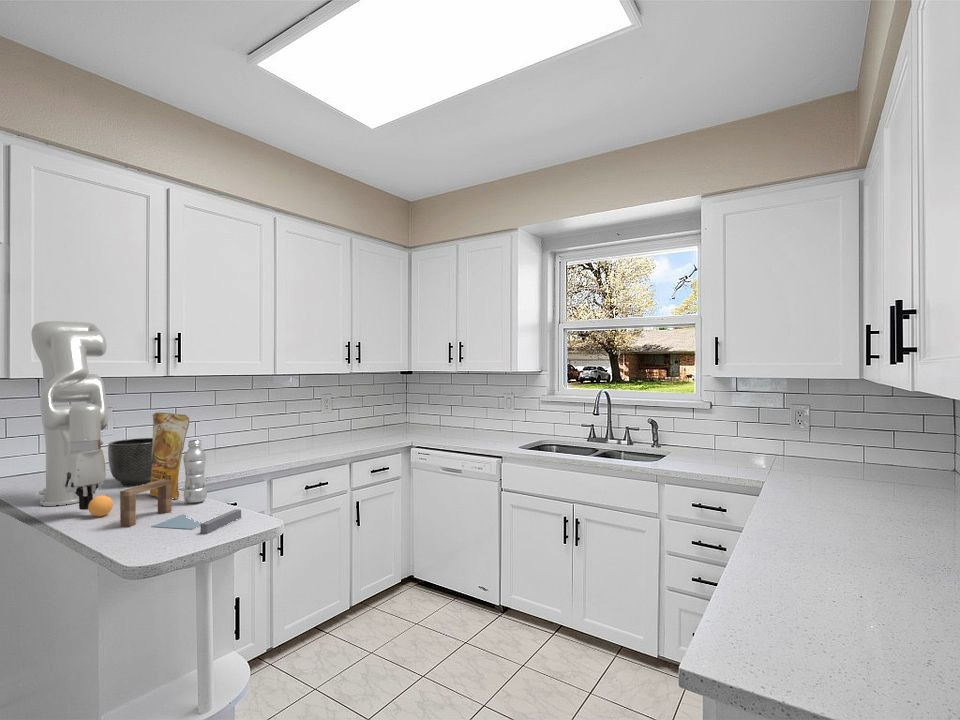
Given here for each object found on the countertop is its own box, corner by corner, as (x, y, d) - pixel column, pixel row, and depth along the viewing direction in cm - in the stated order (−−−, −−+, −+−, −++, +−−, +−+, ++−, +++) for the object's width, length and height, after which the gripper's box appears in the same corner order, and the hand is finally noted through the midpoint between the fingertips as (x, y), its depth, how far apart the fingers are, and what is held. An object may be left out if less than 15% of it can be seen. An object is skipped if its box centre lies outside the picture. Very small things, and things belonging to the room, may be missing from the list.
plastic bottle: (211, 500, 172) (211, 439, 172) (194, 506, 166) (193, 442, 166) (196, 499, 174) (195, 438, 174) (178, 504, 168) (178, 441, 168)
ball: (82, 518, 153) (82, 497, 153) (101, 512, 159) (101, 492, 159) (100, 519, 152) (100, 498, 152) (118, 513, 158) (118, 493, 158)
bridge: (120, 526, 146) (120, 491, 146) (163, 511, 160) (162, 479, 160) (129, 526, 145) (129, 491, 145) (171, 511, 160) (171, 479, 160)
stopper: (200, 533, 139) (200, 523, 139) (235, 517, 153) (235, 509, 153) (207, 533, 139) (207, 524, 139) (241, 518, 152) (241, 509, 152)
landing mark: (151, 527, 145) (151, 526, 145) (186, 513, 158) (186, 512, 158) (192, 529, 142) (192, 528, 142) (224, 515, 155) (224, 515, 155)
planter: (137, 490, 188) (137, 445, 188) (96, 488, 191) (95, 444, 191) (173, 479, 205) (173, 438, 205) (135, 478, 208) (134, 437, 208)
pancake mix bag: (163, 490, 187) (162, 411, 187) (192, 497, 177) (191, 414, 177) (142, 494, 182) (141, 413, 182) (171, 502, 171) (170, 415, 171)
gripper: (98, 443, 165) (99, 502, 164) (49, 450, 150) (50, 515, 150) (118, 443, 163) (118, 502, 163) (70, 450, 149) (71, 516, 148)
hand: (86, 508), depth 156 cm, fingers closed
